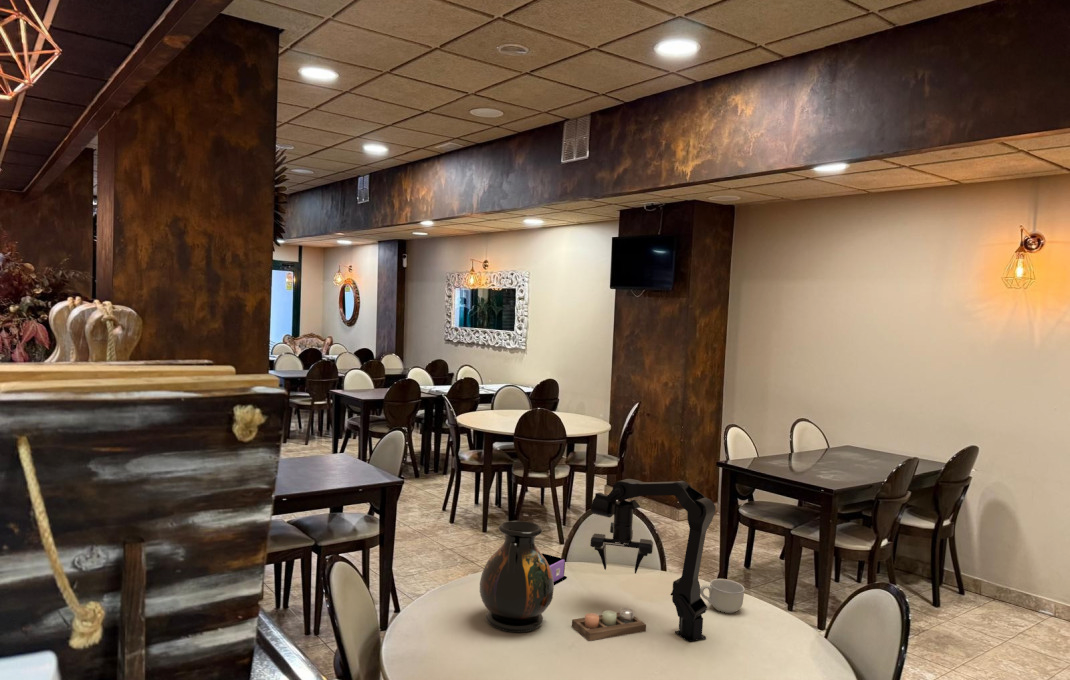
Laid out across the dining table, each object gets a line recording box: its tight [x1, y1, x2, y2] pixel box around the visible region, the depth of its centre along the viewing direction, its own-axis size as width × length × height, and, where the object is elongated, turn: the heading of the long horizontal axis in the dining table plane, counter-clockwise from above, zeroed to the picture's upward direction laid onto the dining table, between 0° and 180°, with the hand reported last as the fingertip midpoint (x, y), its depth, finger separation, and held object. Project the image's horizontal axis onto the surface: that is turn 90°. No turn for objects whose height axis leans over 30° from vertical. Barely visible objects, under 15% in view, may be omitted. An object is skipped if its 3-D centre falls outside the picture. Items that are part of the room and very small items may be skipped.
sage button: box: [602, 610, 618, 627], centre depth 204 cm, size 4×4×3 cm
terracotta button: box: [584, 612, 599, 629], centre depth 202 cm, size 4×4×3 cm
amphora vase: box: [479, 520, 555, 633], centre depth 205 cm, size 22×22×28 cm
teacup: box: [700, 578, 746, 614], centre depth 225 cm, size 14×11×8 cm
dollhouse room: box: [541, 553, 568, 586], centre depth 243 cm, size 12×12×7 cm
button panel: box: [571, 611, 647, 642], centre depth 204 cm, size 10×19×2 cm, turn 117°
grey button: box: [619, 607, 635, 624], centre depth 207 cm, size 4×4×3 cm
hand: (620, 571), depth 217 cm, fingers open, 9 cm apart
